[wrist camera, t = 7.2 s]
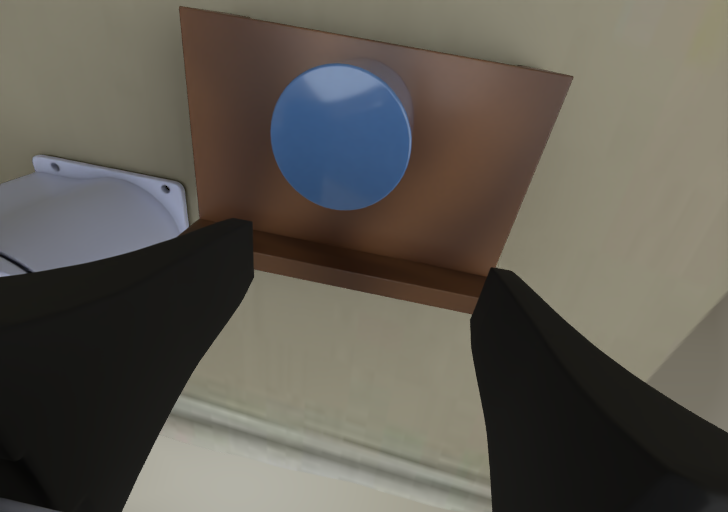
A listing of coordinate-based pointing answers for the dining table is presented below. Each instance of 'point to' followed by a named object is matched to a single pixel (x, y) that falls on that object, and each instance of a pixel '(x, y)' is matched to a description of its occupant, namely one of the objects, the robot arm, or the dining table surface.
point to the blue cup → (344, 133)
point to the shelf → (418, 185)
